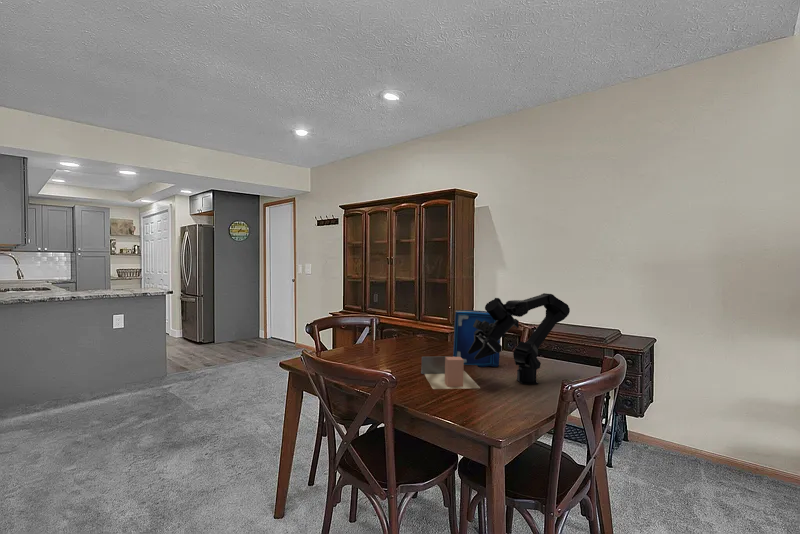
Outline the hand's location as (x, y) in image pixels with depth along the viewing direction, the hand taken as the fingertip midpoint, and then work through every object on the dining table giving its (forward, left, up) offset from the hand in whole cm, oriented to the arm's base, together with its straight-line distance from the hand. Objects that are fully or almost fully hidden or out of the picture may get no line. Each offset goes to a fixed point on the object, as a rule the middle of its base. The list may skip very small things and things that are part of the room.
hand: (471, 356), depth 161 cm
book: (-11, -32, -12) cm, 36 cm away
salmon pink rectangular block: (+7, 0, -11) cm, 13 cm away
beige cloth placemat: (+7, -7, -12) cm, 15 cm away
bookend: (+11, -16, -11) cm, 22 cm away
